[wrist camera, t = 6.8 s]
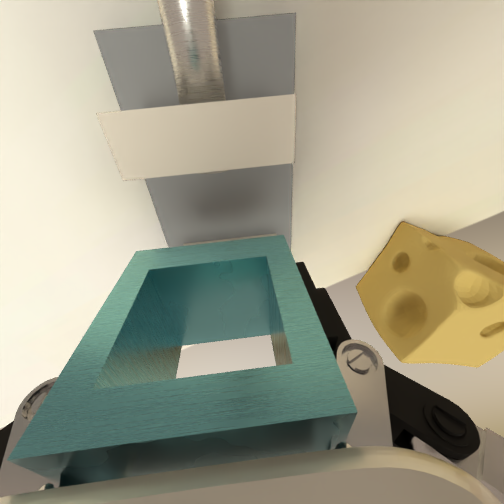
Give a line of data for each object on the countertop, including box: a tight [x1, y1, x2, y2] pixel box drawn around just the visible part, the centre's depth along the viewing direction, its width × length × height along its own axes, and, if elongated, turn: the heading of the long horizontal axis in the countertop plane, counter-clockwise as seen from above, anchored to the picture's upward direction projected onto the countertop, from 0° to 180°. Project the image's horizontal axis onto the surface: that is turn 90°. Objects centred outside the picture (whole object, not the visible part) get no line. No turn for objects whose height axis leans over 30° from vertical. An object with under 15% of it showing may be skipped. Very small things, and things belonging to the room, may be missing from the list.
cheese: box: [356, 222, 504, 367], centre depth 23 cm, size 10×11×10 cm
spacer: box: [7, 235, 358, 484], centre depth 9 cm, size 5×7×7 cm
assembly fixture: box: [94, 13, 296, 251], centre depth 17 cm, size 21×12×8 cm, turn 5°
